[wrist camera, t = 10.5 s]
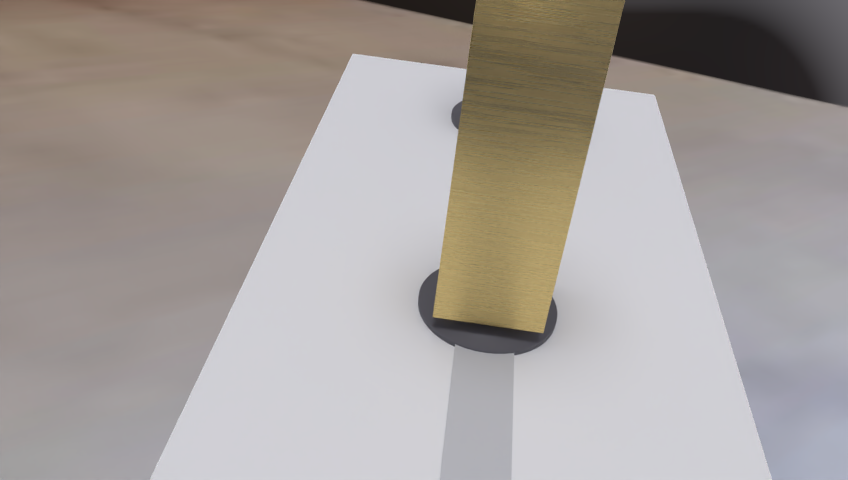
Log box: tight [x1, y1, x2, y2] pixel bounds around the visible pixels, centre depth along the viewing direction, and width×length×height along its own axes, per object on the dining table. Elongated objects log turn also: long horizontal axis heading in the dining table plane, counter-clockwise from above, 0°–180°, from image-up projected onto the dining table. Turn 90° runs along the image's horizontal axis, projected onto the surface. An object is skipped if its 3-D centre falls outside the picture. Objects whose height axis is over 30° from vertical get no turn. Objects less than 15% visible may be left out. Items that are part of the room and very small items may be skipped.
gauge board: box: [150, 54, 772, 480], centre depth 25 cm, size 30×14×2 cm, turn 174°
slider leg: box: [433, 0, 625, 333], centre depth 20 cm, size 3×3×10 cm
